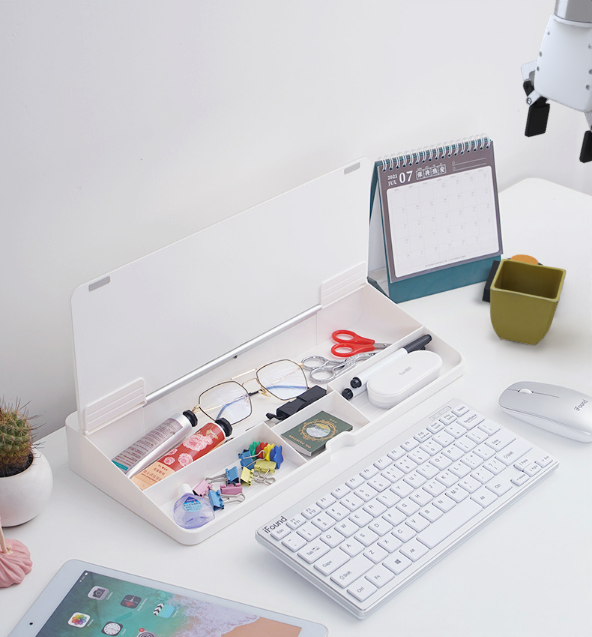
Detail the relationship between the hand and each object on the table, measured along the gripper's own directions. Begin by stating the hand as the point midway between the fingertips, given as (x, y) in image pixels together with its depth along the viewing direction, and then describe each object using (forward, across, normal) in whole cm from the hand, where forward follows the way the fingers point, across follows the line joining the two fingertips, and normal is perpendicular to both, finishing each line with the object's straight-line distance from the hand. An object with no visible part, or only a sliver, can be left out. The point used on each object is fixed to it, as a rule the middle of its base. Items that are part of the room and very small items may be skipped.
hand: (561, 147), depth 102 cm
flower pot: (+25, -4, +5) cm, 26 cm away
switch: (+25, +5, -2) cm, 26 cm away
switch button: (+21, +5, -2) cm, 22 cm away
